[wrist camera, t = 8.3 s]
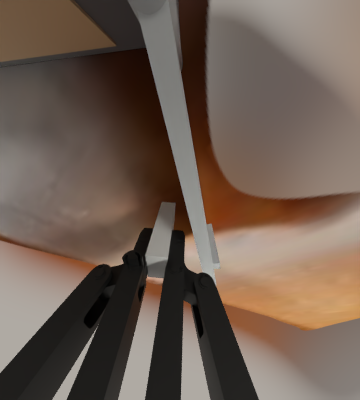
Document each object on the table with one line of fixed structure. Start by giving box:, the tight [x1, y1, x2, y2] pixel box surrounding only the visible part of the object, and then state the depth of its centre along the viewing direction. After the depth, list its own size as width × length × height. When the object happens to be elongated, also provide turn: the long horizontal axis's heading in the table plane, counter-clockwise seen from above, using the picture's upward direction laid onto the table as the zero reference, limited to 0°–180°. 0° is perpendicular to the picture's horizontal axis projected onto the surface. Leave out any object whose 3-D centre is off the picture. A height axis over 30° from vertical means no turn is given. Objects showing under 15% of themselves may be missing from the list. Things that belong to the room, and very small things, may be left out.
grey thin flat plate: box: [128, 0, 220, 285], centre depth 10 cm, size 17×2×7 cm, turn 13°
